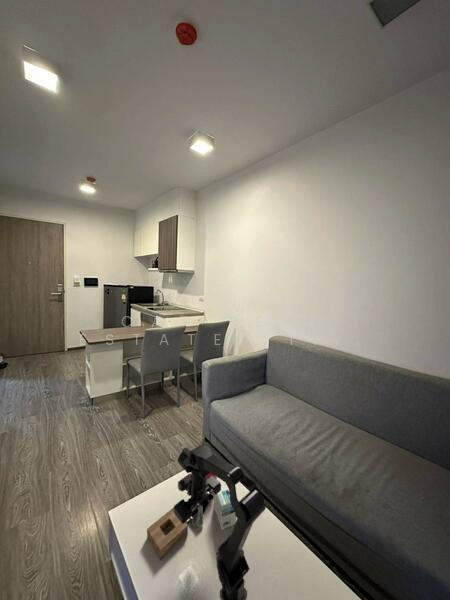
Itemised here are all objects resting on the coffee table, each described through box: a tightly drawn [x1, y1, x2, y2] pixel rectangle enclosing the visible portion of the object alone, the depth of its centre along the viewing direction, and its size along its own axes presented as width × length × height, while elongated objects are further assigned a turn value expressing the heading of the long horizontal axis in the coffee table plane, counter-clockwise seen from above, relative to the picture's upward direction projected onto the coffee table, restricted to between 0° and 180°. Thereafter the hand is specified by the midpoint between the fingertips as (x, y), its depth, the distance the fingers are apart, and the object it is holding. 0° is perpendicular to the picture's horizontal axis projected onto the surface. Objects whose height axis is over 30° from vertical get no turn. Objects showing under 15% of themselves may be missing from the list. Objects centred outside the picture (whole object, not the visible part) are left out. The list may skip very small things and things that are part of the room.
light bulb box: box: [213, 481, 237, 530], centre depth 99 cm, size 11×7×11 cm, turn 22°
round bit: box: [194, 502, 204, 526], centre depth 88 cm, size 3×3×7 cm
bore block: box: [146, 506, 189, 561], centre depth 91 cm, size 10×12×4 cm
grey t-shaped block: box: [186, 517, 204, 531], centre depth 97 cm, size 7×6×2 cm
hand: (198, 517), depth 88 cm, fingers closed on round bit, 3 cm apart
